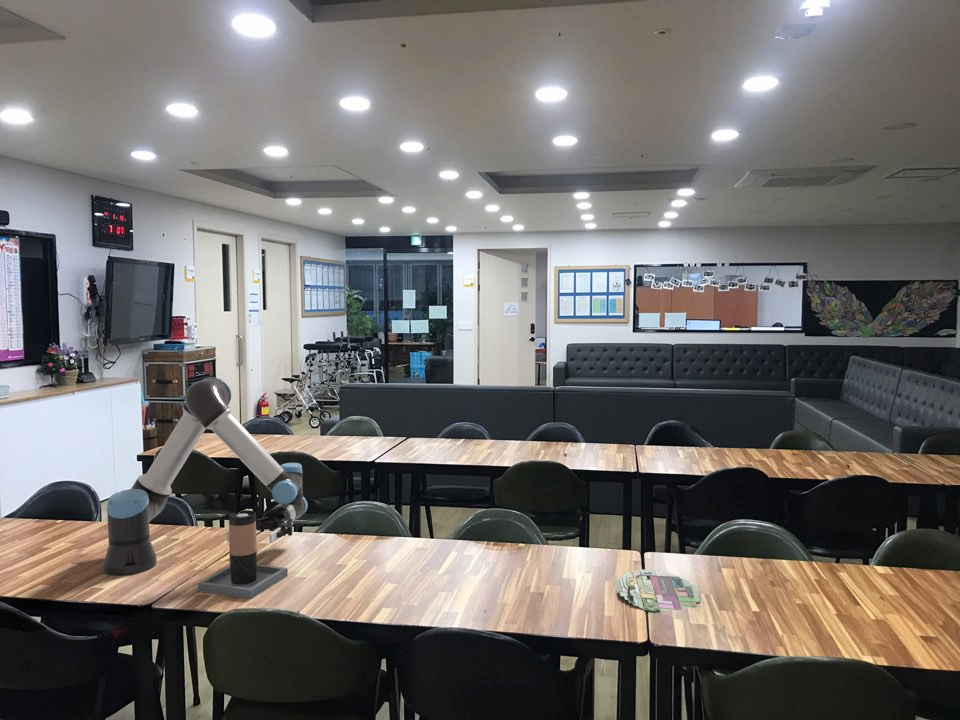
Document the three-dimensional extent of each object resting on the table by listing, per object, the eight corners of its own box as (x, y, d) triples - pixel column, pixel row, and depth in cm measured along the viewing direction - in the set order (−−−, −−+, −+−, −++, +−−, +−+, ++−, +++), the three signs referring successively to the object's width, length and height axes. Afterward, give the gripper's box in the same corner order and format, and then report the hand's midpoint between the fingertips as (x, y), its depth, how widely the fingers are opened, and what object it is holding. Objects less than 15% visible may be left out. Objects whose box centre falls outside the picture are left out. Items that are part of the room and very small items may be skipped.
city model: (636, 627, 184) (638, 605, 183) (597, 583, 206) (598, 564, 205) (718, 616, 191) (721, 596, 190) (671, 575, 213) (674, 557, 212)
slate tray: (197, 591, 203) (197, 582, 202) (237, 569, 220) (237, 561, 220) (251, 599, 197) (251, 590, 197) (287, 576, 214) (287, 567, 214)
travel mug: (252, 585, 205) (250, 517, 203) (226, 584, 205) (224, 517, 203) (261, 575, 212) (259, 510, 211) (235, 575, 212) (234, 509, 211)
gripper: (316, 530, 230) (288, 552, 209) (244, 526, 234) (210, 548, 213) (315, 507, 230) (288, 527, 209) (243, 504, 233) (210, 523, 213)
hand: (249, 537), depth 211 cm, fingers open, 13 cm apart
